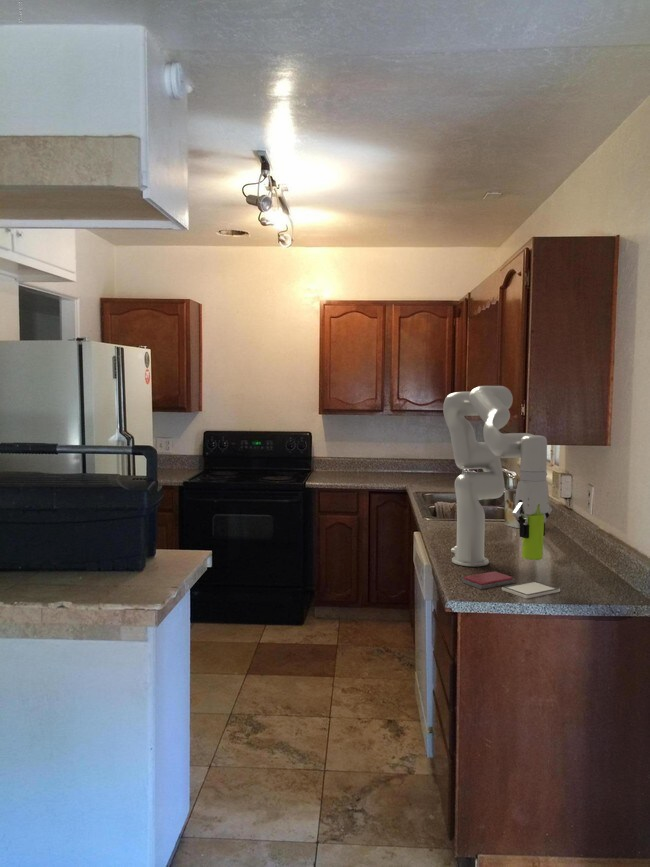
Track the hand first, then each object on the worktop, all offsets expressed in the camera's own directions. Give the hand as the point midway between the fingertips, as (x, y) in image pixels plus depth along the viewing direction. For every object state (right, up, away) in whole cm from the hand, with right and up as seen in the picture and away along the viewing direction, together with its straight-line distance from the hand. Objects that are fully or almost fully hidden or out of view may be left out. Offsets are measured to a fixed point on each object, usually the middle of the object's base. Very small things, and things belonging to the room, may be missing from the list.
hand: (532, 535), depth 211 cm
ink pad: (-11, -16, +10) cm, 22 cm away
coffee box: (+22, -10, +99) cm, 102 cm away
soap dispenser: (0, -7, +1) cm, 7 cm away
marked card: (0, -17, +1) cm, 17 cm away
